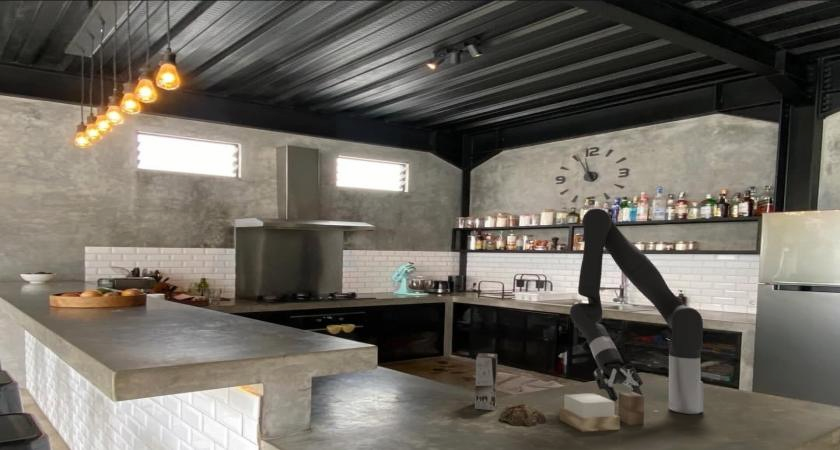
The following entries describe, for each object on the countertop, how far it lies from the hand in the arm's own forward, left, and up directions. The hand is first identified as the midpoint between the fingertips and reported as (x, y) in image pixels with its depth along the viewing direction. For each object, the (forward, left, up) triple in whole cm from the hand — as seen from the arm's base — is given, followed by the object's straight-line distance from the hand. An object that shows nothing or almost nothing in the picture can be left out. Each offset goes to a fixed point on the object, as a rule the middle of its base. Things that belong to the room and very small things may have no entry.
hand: (628, 399), depth 169 cm
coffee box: (+36, -23, -6) cm, 43 cm away
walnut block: (0, +1, -6) cm, 6 cm away
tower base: (+14, +1, -7) cm, 15 cm away
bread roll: (+32, -6, -7) cm, 33 cm away
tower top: (+14, +1, -3) cm, 14 cm away
